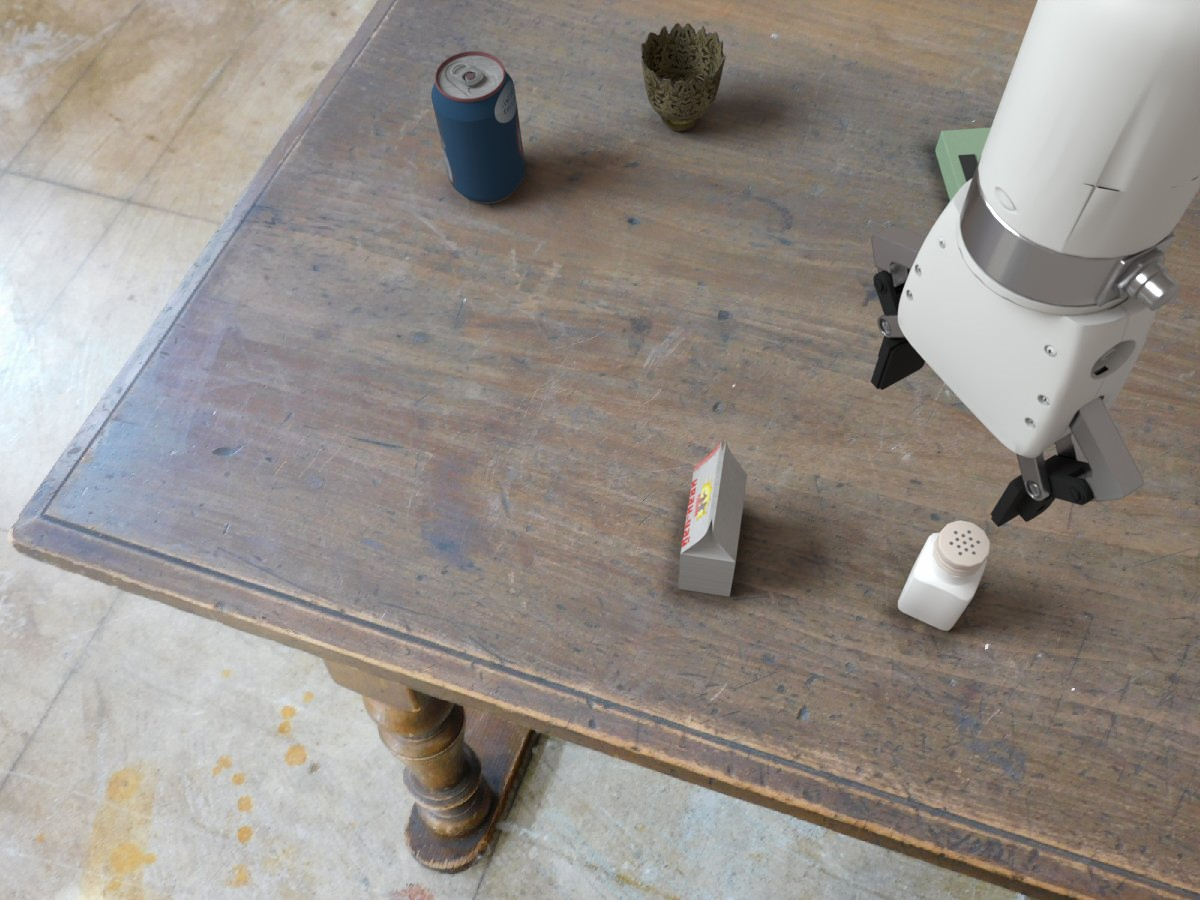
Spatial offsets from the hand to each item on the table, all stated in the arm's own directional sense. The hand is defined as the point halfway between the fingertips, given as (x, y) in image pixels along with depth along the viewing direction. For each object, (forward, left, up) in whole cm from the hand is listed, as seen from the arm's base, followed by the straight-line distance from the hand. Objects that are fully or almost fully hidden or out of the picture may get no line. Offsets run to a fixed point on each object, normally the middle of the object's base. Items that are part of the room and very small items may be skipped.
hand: (954, 440), depth 57 cm
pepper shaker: (-4, 0, -22) cm, 22 cm away
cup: (+9, -49, -22) cm, 54 cm away
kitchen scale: (-20, -37, -22) cm, 47 cm away
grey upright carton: (+11, -5, -22) cm, 25 cm away
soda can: (+27, -43, -22) cm, 55 cm away
